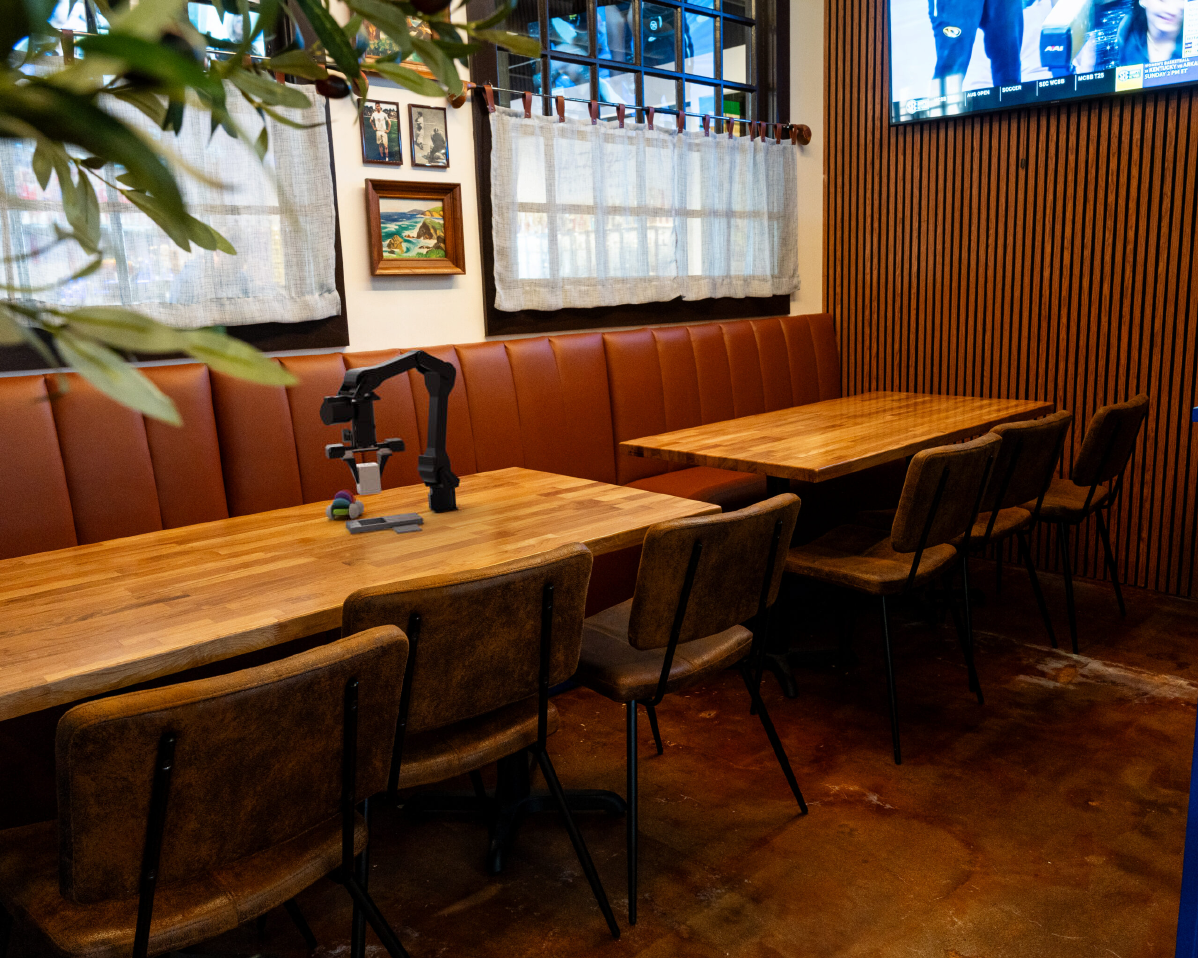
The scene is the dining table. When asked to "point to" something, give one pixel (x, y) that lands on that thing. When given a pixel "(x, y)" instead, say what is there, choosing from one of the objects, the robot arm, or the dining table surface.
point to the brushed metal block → (368, 478)
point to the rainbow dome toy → (344, 505)
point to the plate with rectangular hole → (383, 522)
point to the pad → (406, 528)
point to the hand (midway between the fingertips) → (368, 482)
